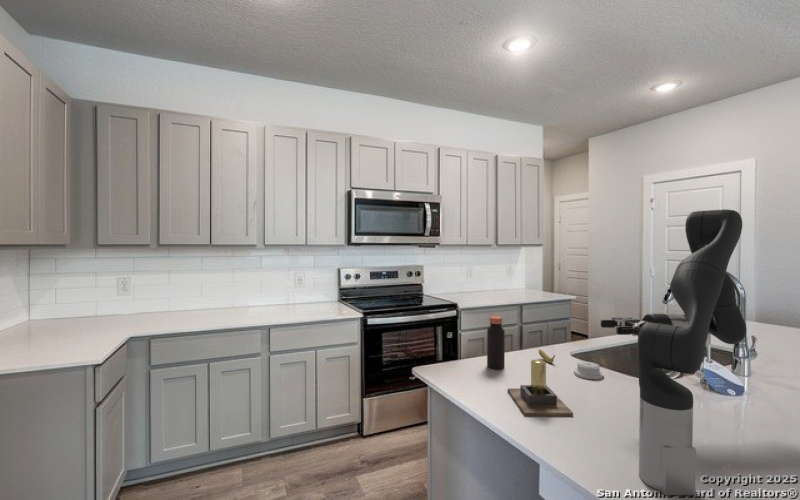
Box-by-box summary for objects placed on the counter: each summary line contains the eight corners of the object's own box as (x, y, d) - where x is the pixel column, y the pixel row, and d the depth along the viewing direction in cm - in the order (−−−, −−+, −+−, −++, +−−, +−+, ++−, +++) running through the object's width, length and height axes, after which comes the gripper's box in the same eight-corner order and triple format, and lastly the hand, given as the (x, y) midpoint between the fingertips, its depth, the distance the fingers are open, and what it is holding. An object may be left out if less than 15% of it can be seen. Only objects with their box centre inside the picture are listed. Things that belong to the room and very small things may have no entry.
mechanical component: (577, 379, 141) (606, 381, 138) (577, 367, 140) (607, 369, 138) (571, 370, 150) (598, 372, 148) (571, 359, 150) (598, 360, 148)
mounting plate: (573, 416, 111) (573, 402, 111) (524, 416, 111) (524, 402, 111) (549, 391, 129) (549, 379, 129) (507, 391, 129) (507, 379, 129)
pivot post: (548, 402, 118) (548, 363, 118) (533, 402, 118) (533, 364, 118) (542, 396, 122) (543, 359, 122) (529, 396, 122) (529, 359, 122)
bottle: (486, 368, 152) (486, 318, 151) (487, 363, 158) (487, 315, 158) (504, 370, 150) (504, 319, 149) (504, 365, 156) (504, 316, 156)
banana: (536, 358, 165) (536, 348, 165) (541, 357, 166) (541, 348, 166) (551, 365, 156) (551, 355, 156) (556, 364, 156) (556, 355, 156)
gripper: (649, 309, 117) (596, 309, 117) (683, 319, 103) (623, 319, 103) (649, 333, 117) (596, 333, 117) (683, 346, 103) (622, 346, 103)
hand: (608, 327), depth 110 cm, fingers open, 8 cm apart
